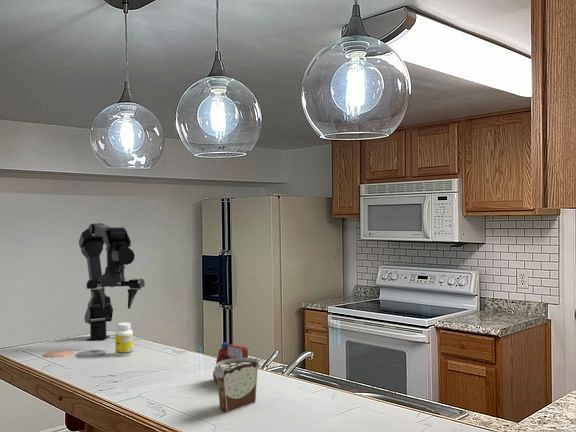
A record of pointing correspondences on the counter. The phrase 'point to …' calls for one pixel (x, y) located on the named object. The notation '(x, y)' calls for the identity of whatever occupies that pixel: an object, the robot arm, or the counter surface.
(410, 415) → the counter surface
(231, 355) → the toy fire truck
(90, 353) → the slate coaster
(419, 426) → the counter surface
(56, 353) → the terracotta coaster
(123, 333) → the supplement bottle
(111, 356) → the sage coaster
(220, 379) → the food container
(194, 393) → the counter surface
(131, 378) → the counter surface
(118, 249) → the robot arm
